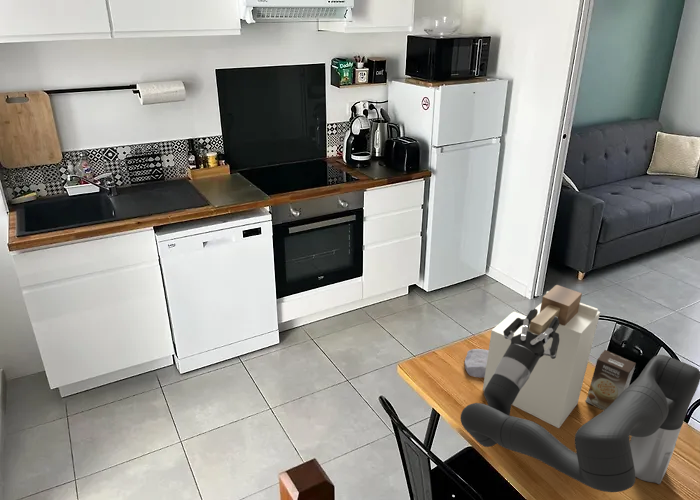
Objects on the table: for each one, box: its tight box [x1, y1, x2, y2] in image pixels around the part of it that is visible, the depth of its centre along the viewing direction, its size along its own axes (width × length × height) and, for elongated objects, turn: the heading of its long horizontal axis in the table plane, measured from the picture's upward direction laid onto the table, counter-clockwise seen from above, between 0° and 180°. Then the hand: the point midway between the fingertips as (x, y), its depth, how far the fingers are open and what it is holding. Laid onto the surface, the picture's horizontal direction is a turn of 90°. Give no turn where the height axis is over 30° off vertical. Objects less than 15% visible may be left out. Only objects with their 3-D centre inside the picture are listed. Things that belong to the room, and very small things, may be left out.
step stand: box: [482, 290, 601, 429], centre depth 156 cm, size 24×14×34 cm, turn 48°
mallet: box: [529, 284, 583, 335], centre depth 141 cm, size 7×20×6 cm, turn 138°
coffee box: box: [585, 349, 637, 411], centre depth 157 cm, size 9×6×16 cm
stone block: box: [464, 348, 489, 379], centre depth 176 cm, size 12×5×10 cm
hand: (546, 314), depth 138 cm, fingers open, 5 cm apart
